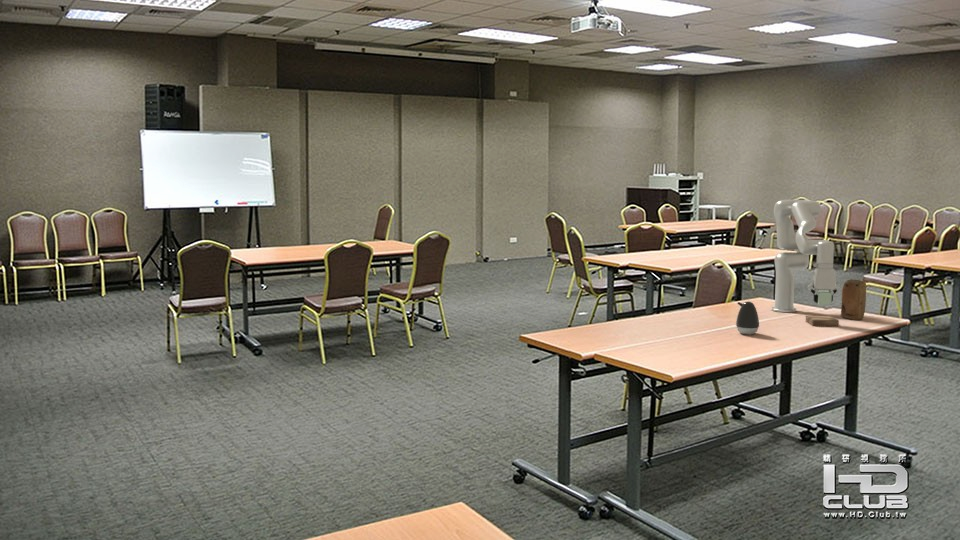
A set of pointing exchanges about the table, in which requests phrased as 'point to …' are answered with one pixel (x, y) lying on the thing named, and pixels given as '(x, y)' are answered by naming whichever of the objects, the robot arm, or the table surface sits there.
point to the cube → (824, 298)
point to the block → (853, 299)
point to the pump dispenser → (747, 319)
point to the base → (822, 321)
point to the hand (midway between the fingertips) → (823, 302)
